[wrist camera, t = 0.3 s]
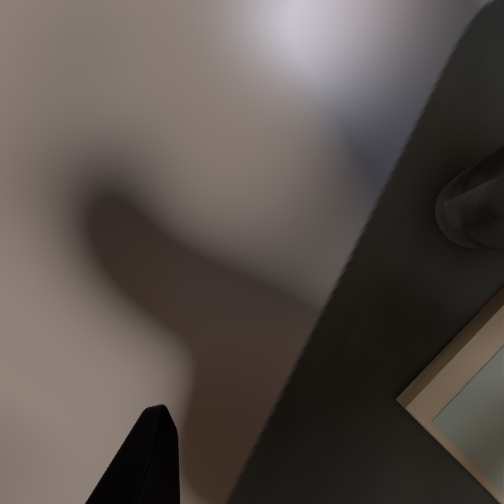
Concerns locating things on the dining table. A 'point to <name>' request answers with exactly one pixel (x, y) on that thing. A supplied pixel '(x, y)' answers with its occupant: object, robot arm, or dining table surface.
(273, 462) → the dining table surface
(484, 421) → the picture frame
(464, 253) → the dining table surface
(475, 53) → the dining table surface
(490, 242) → the beverage cup
